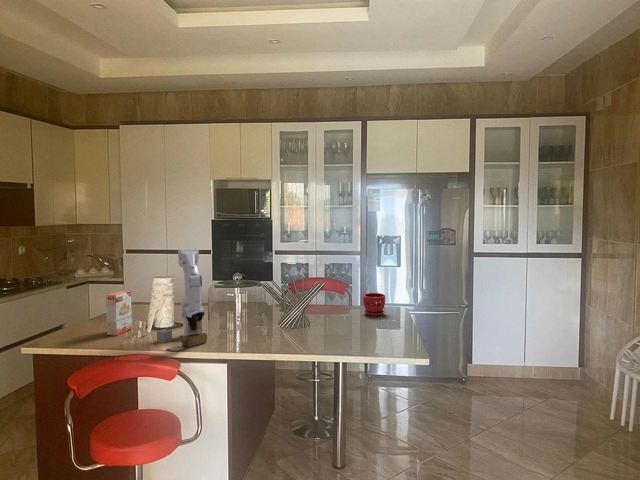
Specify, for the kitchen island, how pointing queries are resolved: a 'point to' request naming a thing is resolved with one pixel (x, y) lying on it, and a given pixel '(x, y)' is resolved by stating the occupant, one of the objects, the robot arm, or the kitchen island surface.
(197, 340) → the stone block
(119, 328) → the cracker box
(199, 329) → the walnut cube
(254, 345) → the kitchen island surface
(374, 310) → the plant pot
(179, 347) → the tile
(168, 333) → the slate grey cube
